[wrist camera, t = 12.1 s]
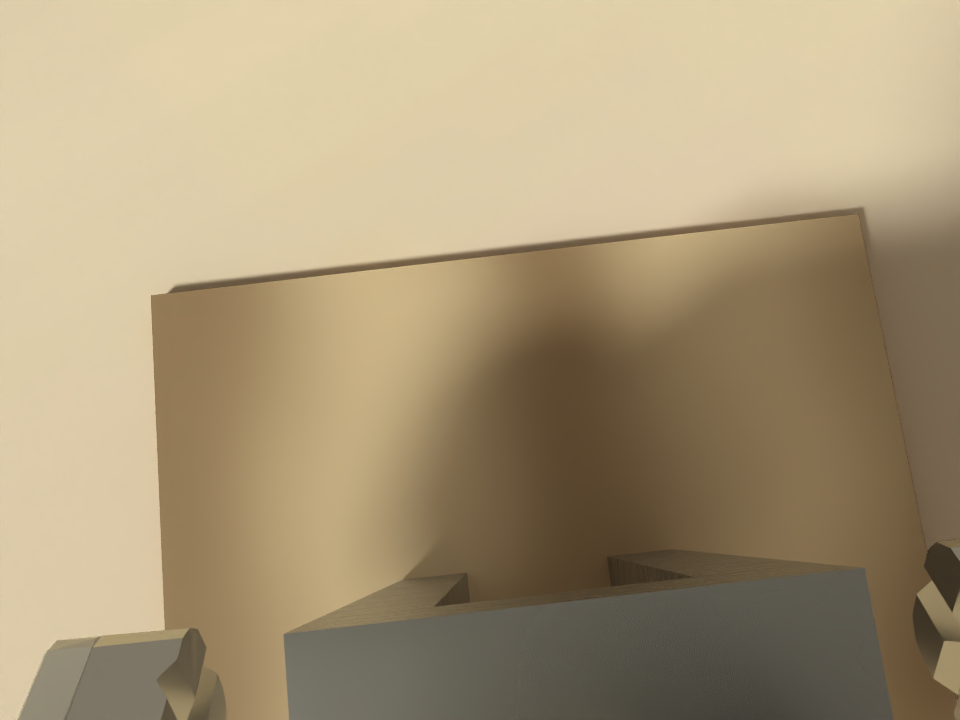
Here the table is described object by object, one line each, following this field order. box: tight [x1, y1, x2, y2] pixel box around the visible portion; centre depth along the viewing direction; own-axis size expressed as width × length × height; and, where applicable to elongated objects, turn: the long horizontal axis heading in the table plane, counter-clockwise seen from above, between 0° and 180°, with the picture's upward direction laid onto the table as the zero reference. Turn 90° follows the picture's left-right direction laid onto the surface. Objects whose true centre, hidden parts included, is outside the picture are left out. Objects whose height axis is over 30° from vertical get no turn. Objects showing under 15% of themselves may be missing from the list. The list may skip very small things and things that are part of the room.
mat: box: [151, 214, 957, 720], centre depth 17 cm, size 14×14×1 cm
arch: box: [283, 549, 894, 720], centre depth 12 cm, size 5×2×9 cm, turn 96°
